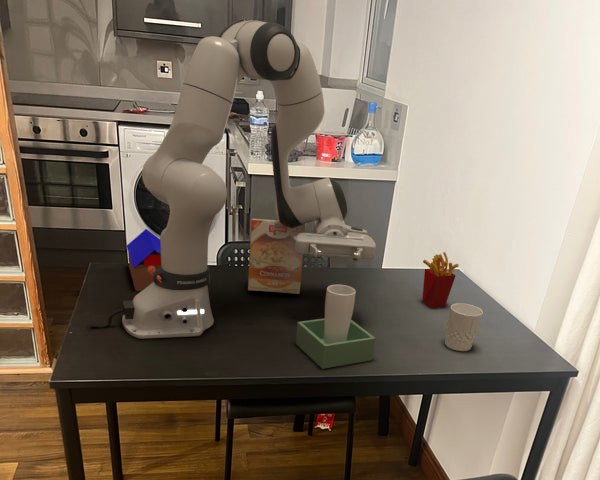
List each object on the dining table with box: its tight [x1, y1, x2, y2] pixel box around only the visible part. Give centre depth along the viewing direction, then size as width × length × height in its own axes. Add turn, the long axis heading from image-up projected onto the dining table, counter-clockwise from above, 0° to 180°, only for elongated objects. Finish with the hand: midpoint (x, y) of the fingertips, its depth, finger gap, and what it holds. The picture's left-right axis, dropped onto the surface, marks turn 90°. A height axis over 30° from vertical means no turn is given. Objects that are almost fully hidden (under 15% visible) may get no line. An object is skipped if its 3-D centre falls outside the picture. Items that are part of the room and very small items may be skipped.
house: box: [126, 228, 161, 292], centre depth 173 cm, size 12×20×12 cm, turn 19°
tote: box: [295, 318, 377, 370], centre depth 143 cm, size 14×14×6 cm
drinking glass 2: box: [323, 284, 357, 344], centre depth 140 cm, size 7×7×15 cm
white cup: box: [444, 302, 484, 352], centre depth 151 cm, size 8×8×10 cm
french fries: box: [421, 251, 460, 309], centre depth 173 cm, size 9×8×15 cm
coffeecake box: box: [247, 218, 306, 295], centre depth 170 cm, size 15×7×20 cm, turn 91°
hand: (337, 256), depth 144 cm, fingers open, 8 cm apart
